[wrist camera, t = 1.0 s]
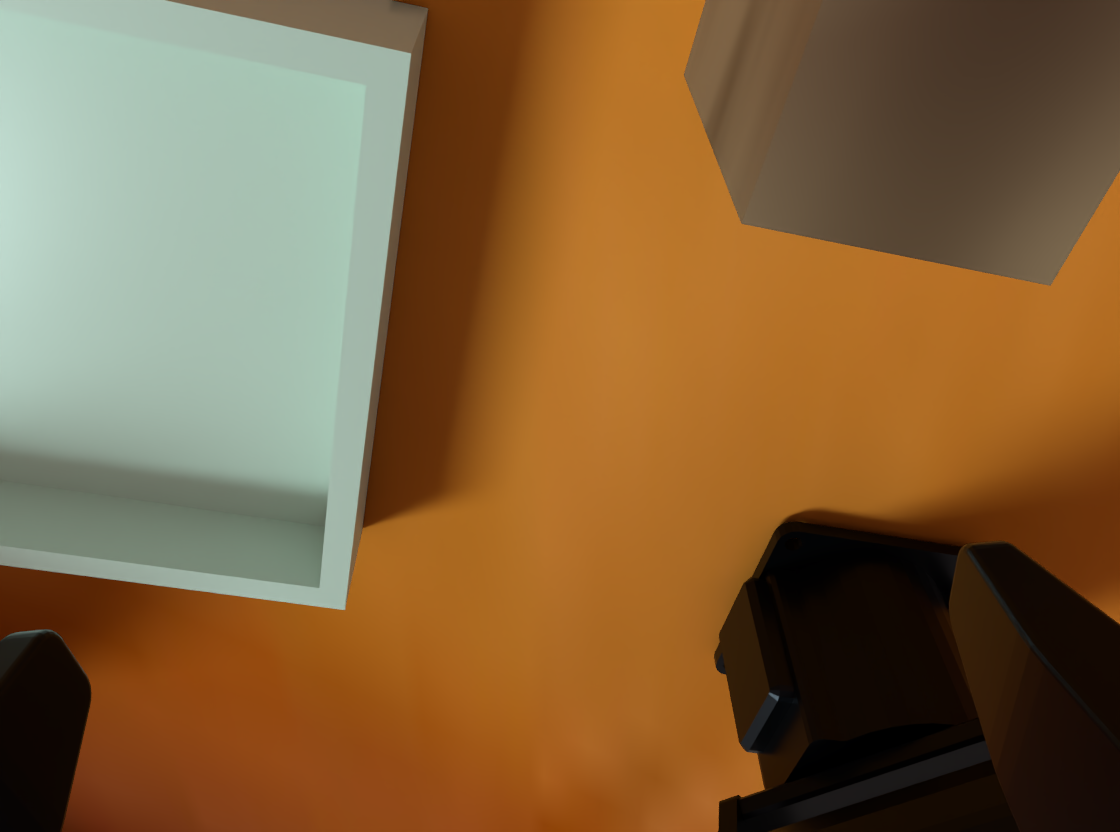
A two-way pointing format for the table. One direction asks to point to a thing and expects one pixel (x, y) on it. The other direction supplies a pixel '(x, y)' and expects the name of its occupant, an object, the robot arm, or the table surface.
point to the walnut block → (916, 123)
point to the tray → (198, 284)
